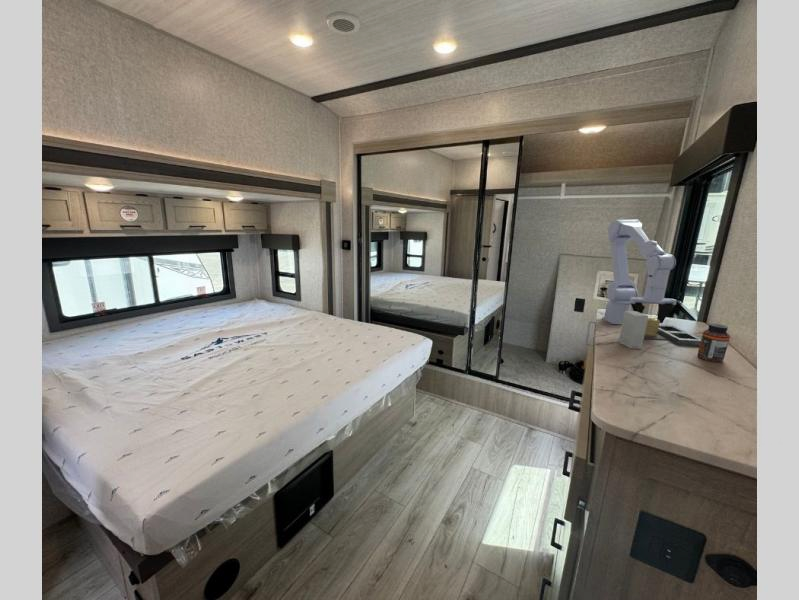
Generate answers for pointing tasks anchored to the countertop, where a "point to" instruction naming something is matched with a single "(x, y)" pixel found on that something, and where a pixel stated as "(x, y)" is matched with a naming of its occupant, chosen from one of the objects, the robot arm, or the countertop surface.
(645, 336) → the mat
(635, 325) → the skincare box
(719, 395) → the countertop surface
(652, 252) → the robot arm
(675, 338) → the grey rectangular frame
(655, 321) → the gold drawer box
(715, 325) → the supplement bottle
